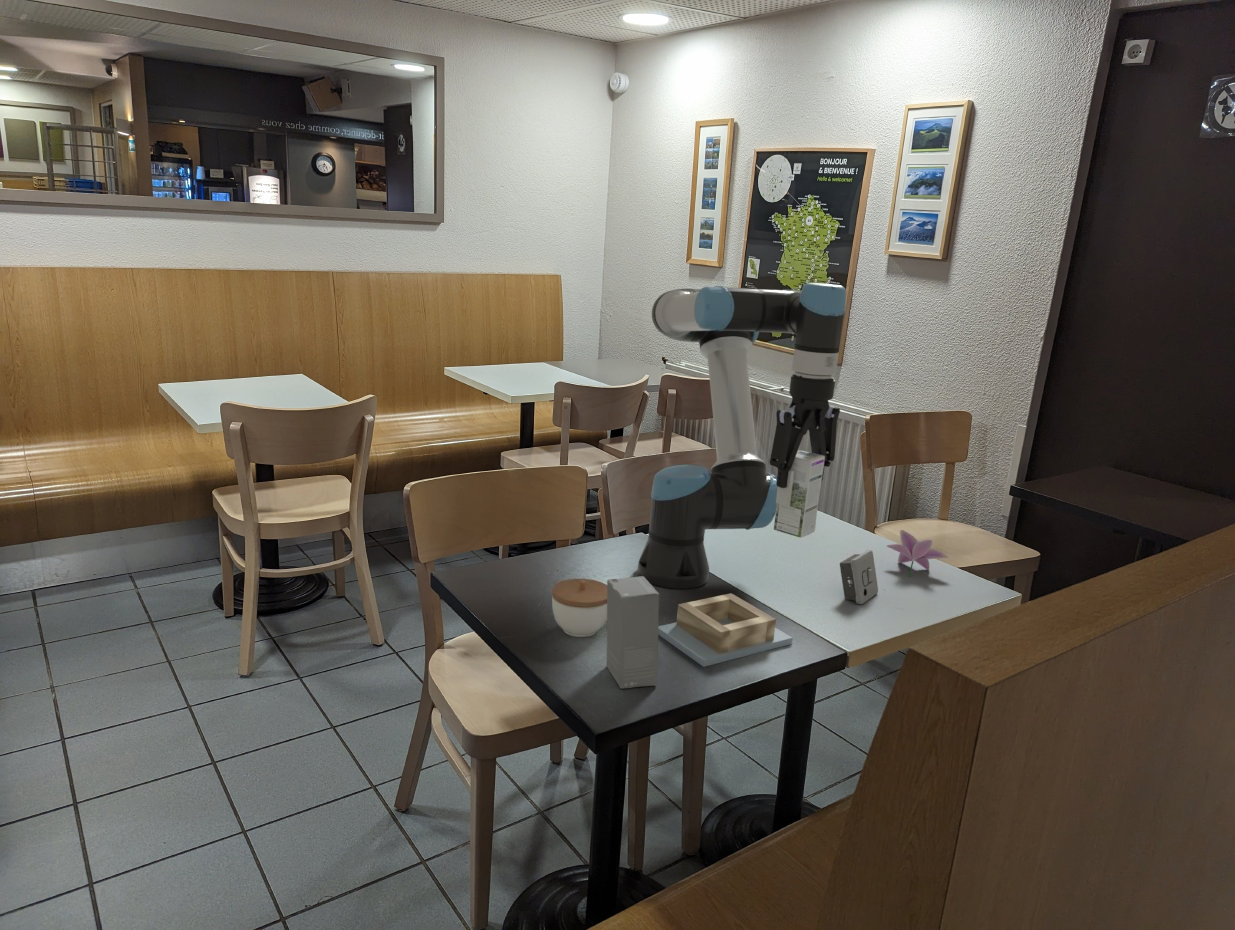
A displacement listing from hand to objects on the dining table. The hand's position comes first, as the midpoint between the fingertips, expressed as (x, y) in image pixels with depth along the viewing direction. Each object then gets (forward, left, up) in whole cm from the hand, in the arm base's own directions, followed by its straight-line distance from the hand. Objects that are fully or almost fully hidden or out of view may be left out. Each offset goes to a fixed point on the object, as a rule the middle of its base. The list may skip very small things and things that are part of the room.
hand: (797, 501), depth 154 cm
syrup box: (0, 0, -6) cm, 6 cm away
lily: (+16, +47, -25) cm, 56 cm away
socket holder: (-8, -10, -25) cm, 28 cm away
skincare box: (-16, -32, -25) cm, 44 cm away
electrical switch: (+8, +25, -25) cm, 36 cm away
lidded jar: (-31, -22, -25) cm, 45 cm away
